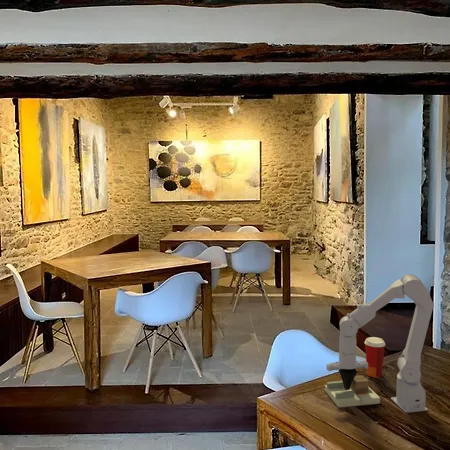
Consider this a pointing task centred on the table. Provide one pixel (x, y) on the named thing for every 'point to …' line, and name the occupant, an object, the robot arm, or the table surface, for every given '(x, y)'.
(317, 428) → the table surface
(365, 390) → the walnut block
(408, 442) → the table surface
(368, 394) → the board
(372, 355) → the paper cup
